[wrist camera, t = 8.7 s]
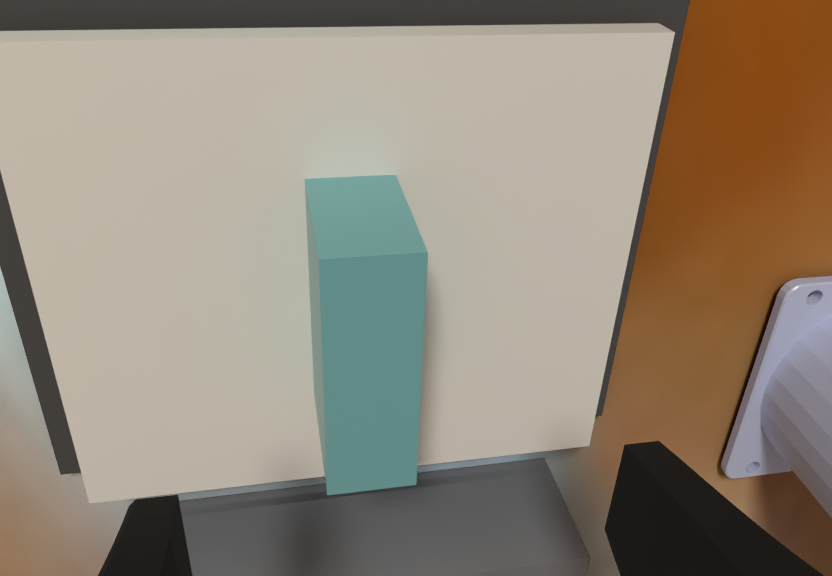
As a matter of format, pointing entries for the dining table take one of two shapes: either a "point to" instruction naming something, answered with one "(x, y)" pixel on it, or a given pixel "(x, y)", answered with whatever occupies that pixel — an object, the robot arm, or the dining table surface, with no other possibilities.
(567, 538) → the tub
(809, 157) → the dining table surface
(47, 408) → the mat
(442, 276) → the lid
